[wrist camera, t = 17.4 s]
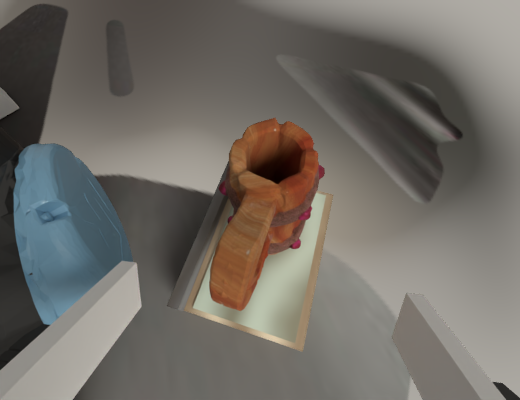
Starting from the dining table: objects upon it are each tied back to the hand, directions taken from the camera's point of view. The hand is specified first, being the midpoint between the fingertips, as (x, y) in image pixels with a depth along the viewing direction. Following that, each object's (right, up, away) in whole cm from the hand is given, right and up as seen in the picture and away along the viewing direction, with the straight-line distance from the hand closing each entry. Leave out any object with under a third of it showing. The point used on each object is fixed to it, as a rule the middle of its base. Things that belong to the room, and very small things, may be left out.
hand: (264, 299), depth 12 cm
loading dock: (0, -2, +20) cm, 20 cm away
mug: (0, 0, +16) cm, 16 cm away
